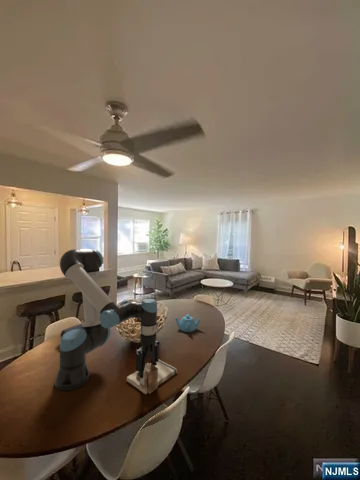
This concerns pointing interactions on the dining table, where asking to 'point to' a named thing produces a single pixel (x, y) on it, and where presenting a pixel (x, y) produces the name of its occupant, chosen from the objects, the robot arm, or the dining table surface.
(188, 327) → the teapot
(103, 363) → the dining table surface
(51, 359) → the dining table surface
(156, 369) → the brown rectangular block
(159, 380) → the board
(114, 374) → the dining table surface
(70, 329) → the bluetooth speaker
